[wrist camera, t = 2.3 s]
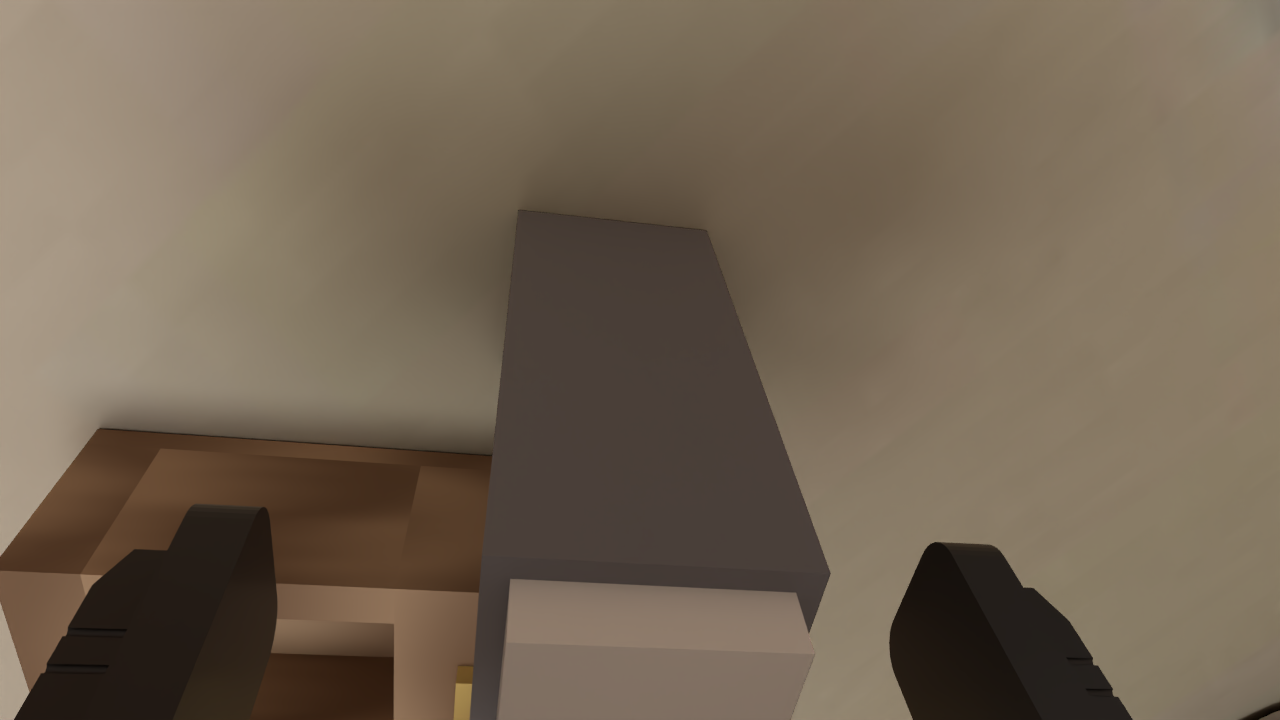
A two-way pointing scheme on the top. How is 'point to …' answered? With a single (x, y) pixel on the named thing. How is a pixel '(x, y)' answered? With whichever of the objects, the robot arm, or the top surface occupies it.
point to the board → (283, 561)
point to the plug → (637, 493)
